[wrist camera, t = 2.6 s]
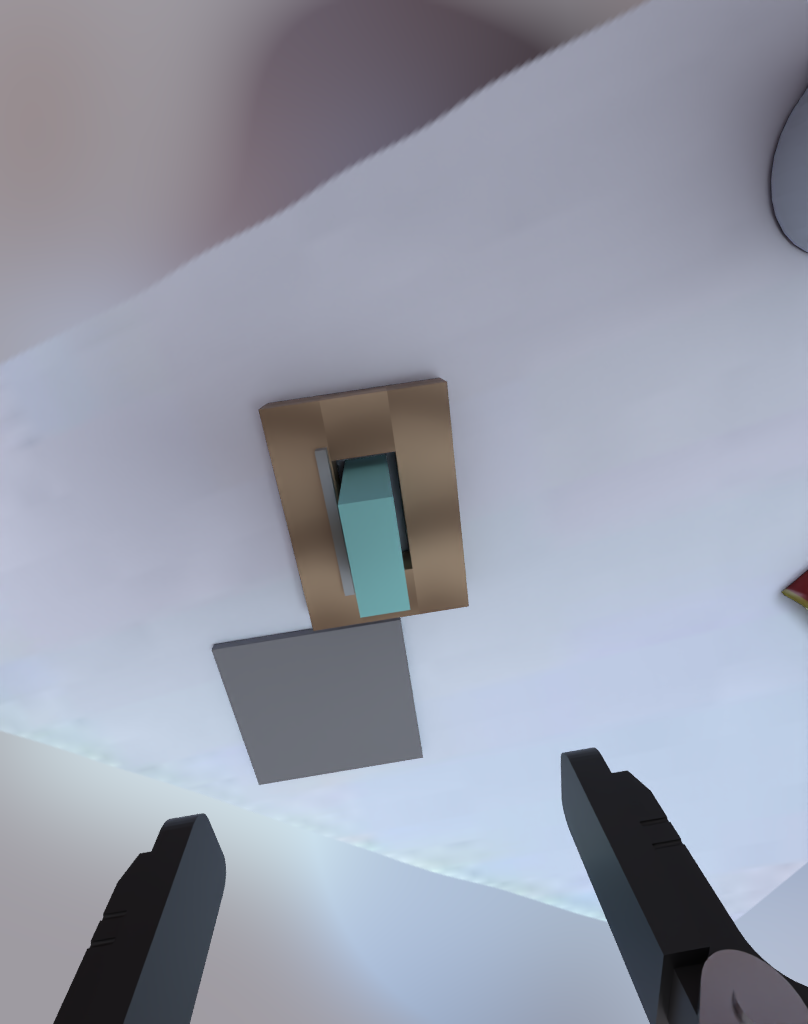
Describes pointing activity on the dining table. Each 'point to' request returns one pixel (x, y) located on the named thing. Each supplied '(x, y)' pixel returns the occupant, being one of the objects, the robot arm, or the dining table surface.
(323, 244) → the dining table surface
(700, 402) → the dining table surface
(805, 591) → the hardcover book
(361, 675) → the mat
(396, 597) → the teal rectangular prism
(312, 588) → the brown wooden frame
